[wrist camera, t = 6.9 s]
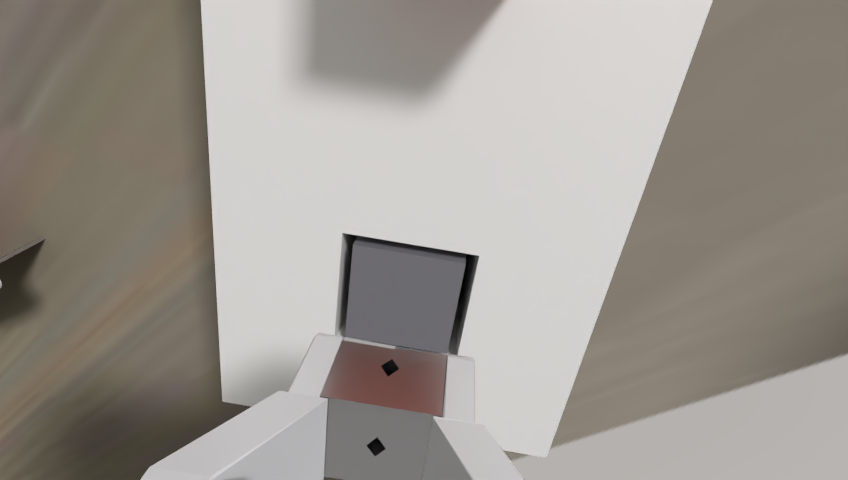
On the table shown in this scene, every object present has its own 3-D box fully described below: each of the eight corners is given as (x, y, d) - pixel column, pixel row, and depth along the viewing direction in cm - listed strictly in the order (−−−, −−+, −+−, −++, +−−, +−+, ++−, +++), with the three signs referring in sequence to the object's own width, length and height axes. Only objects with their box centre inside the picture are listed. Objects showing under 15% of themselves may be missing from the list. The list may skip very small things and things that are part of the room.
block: (720, -289, 15) (893, -497, 9) (528, 352, 27) (546, 457, 20) (289, -353, 16) (168, -600, 9) (280, 310, 27) (222, 401, 21)
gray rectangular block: (466, 206, 22) (465, 263, 17) (451, 281, 24) (447, 354, 19) (379, 192, 22) (352, 244, 17) (371, 268, 24) (344, 336, 19)
